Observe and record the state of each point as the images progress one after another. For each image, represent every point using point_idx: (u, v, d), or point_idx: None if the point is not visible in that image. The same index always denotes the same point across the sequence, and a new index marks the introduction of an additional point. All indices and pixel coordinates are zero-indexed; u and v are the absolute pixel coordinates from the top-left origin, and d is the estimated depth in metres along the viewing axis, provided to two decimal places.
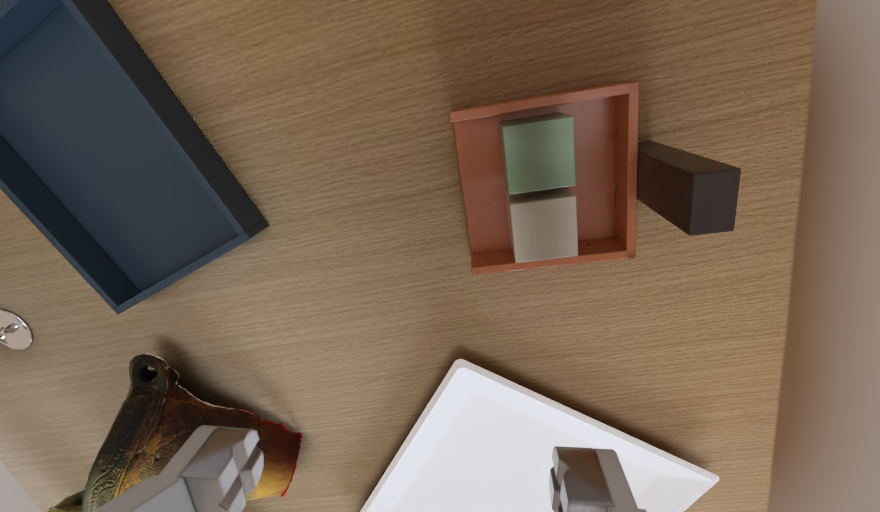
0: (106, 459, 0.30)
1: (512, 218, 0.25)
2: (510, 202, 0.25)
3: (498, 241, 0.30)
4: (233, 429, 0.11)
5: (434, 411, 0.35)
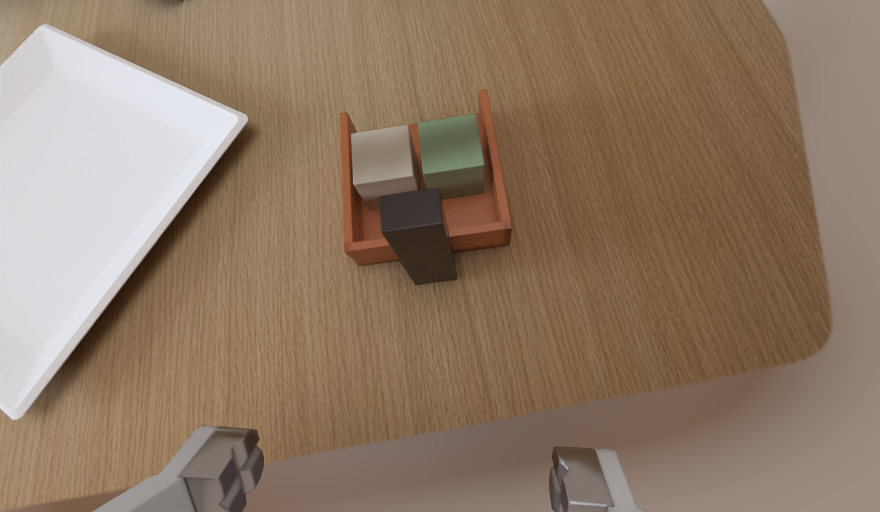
0: None
1: (394, 127, 0.27)
2: (409, 129, 0.28)
3: None
4: (233, 429, 0.11)
5: (189, 98, 0.34)
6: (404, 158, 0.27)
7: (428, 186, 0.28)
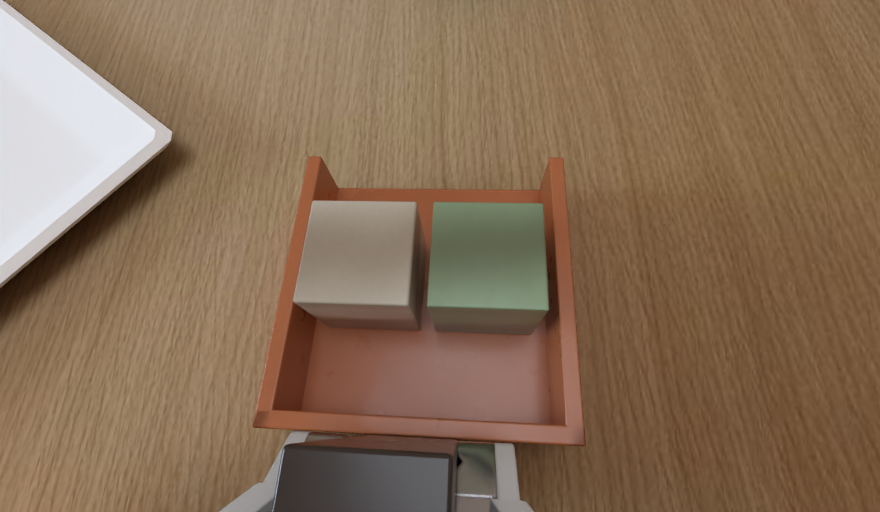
0: None
1: (391, 202, 0.15)
2: (417, 209, 0.15)
3: None
4: (326, 434, 0.11)
5: (96, 91, 0.22)
6: (397, 267, 0.14)
7: (434, 318, 0.15)
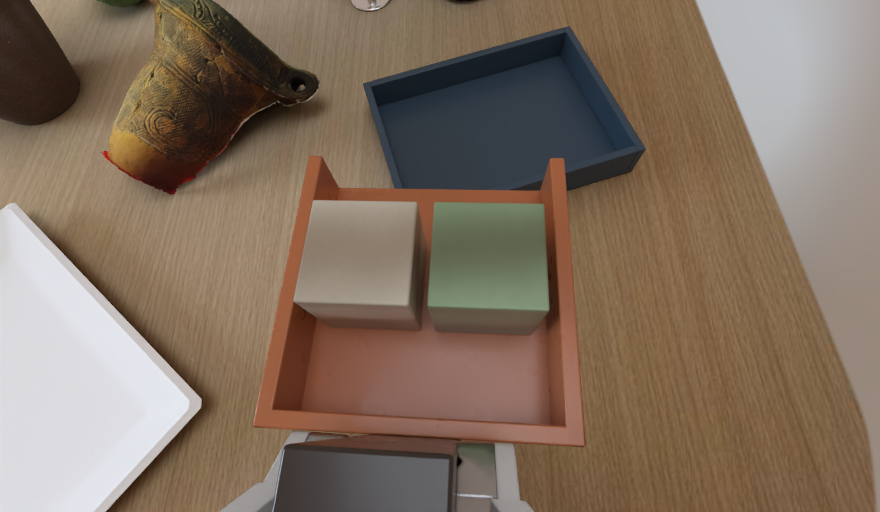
0: (227, 22, 0.30)
1: (392, 202, 0.15)
2: (418, 209, 0.15)
3: None
4: (326, 434, 0.11)
5: (141, 355, 0.28)
6: (398, 267, 0.14)
7: (435, 319, 0.15)
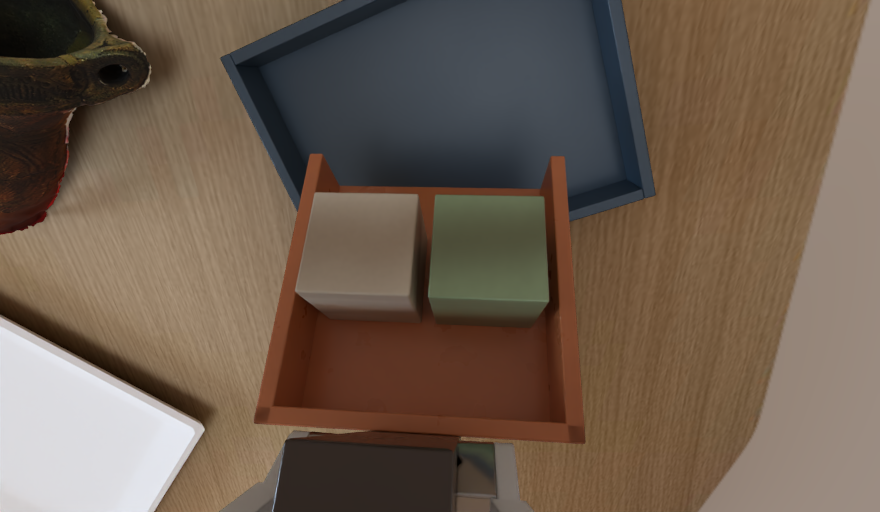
0: None
1: (393, 194, 0.15)
2: (419, 201, 0.15)
3: None
4: None
5: (131, 396, 0.32)
6: (399, 258, 0.14)
7: (435, 310, 0.15)
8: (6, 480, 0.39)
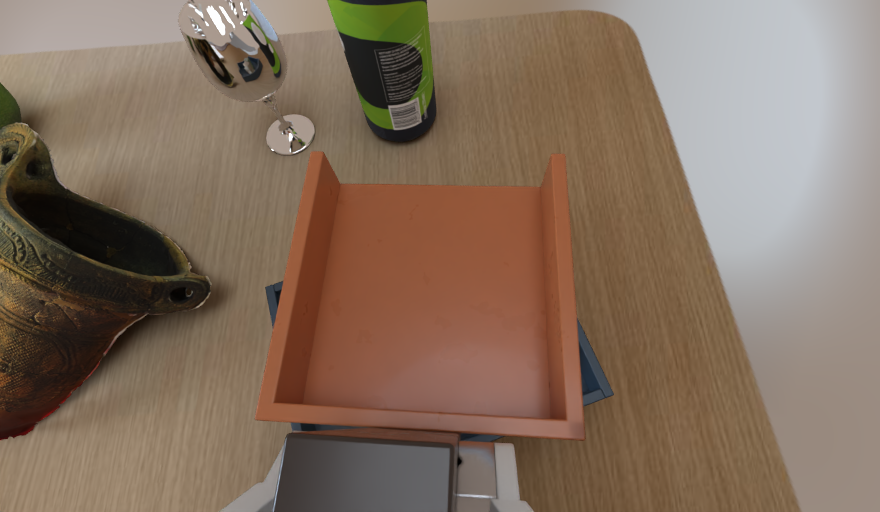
0: (61, 262, 0.23)
1: None
2: None
3: (348, 221, 0.19)
4: None
5: None
6: None
7: None
8: None
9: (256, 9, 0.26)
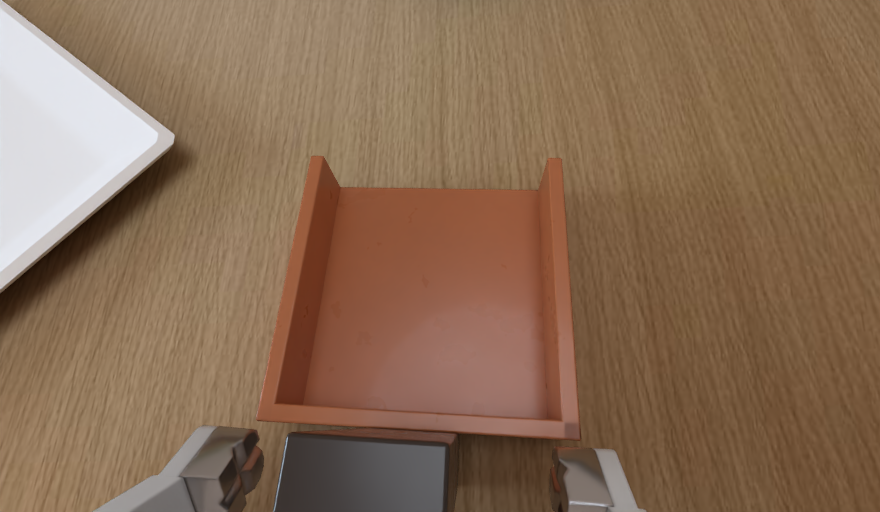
0: None
1: None
2: None
3: (348, 224, 0.20)
4: (233, 429, 0.11)
5: (99, 94, 0.22)
6: None
7: None
8: None
9: None
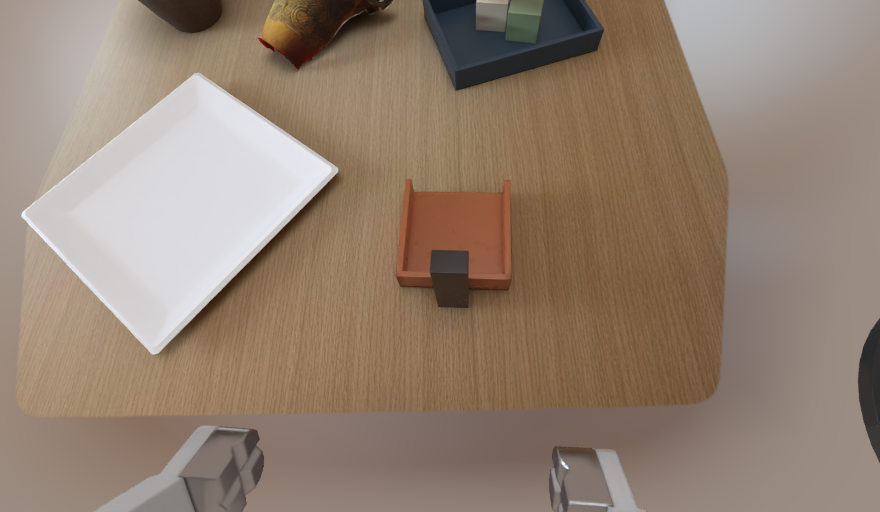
0: None
1: (498, 31, 0.54)
2: (505, 28, 0.54)
3: (419, 208, 0.45)
4: (233, 429, 0.11)
5: (298, 148, 0.47)
6: None
7: None
8: (128, 247, 0.45)
9: None
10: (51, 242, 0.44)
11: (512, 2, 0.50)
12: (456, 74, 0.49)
